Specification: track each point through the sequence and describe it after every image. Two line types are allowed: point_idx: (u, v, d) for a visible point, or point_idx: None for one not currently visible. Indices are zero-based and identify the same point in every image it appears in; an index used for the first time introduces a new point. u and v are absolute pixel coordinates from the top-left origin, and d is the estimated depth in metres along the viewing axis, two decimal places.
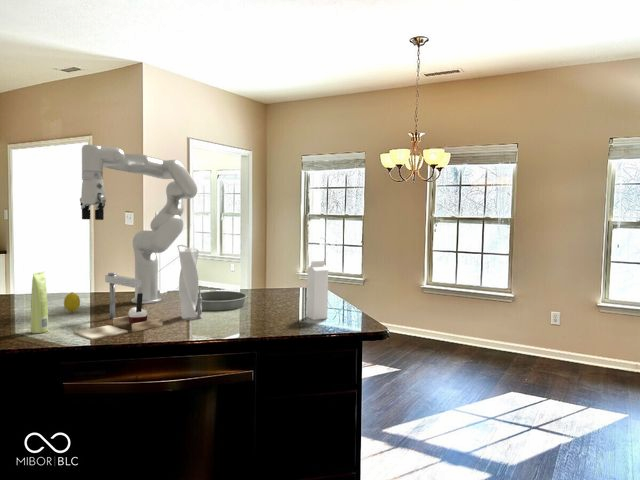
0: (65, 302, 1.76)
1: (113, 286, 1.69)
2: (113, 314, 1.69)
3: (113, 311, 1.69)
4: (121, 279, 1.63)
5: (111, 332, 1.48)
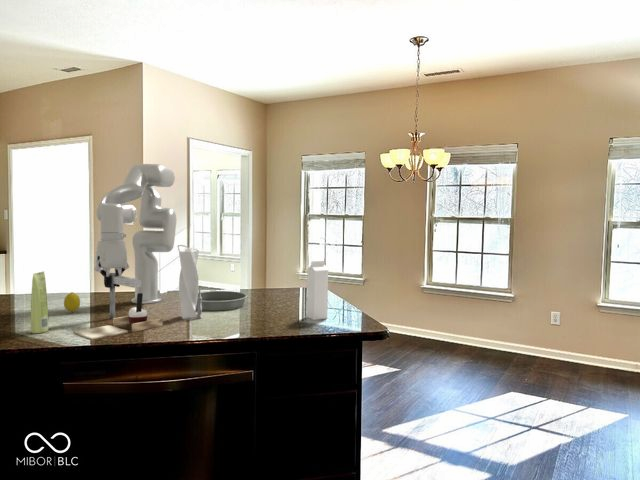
0: (65, 302, 1.76)
1: (113, 286, 1.69)
2: (113, 314, 1.69)
3: (113, 311, 1.69)
4: (121, 279, 1.63)
5: (111, 332, 1.48)
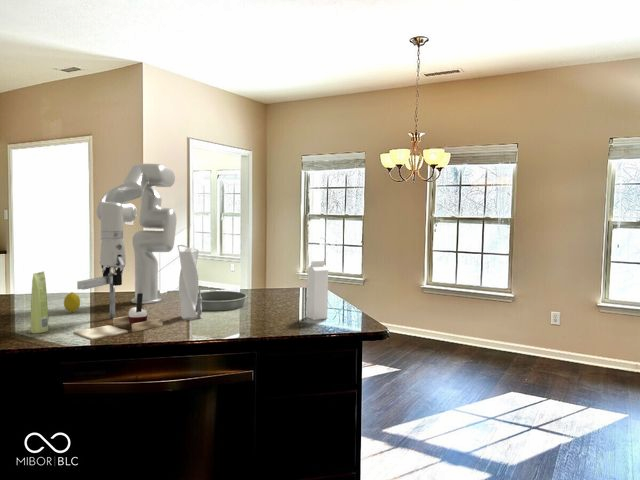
0: (65, 302, 1.76)
1: (110, 286, 1.69)
2: (110, 314, 1.69)
3: (110, 311, 1.69)
4: None
5: (111, 332, 1.48)
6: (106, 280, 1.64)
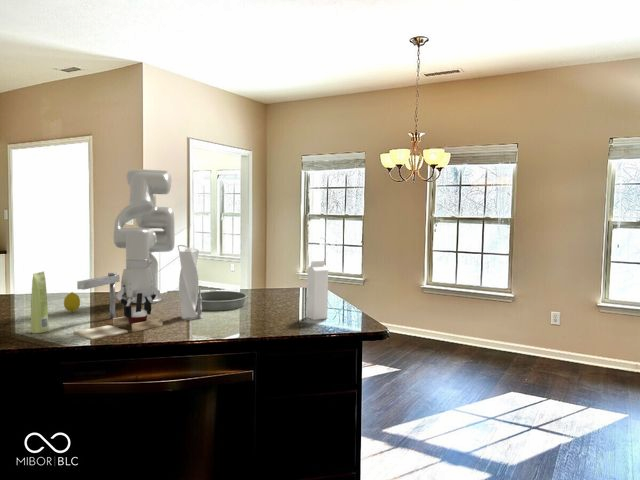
0: (65, 302, 1.76)
1: (110, 286, 1.69)
2: (110, 314, 1.69)
3: (110, 311, 1.69)
4: None
5: (111, 332, 1.48)
6: (106, 280, 1.64)
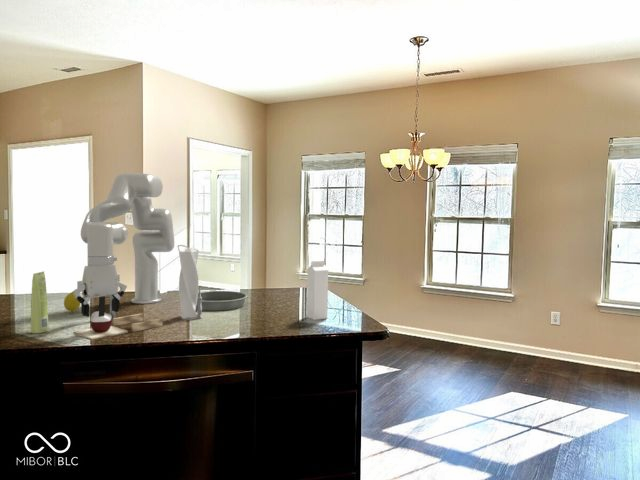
0: (65, 302, 1.76)
1: None
2: (110, 314, 1.69)
3: (110, 311, 1.69)
4: None
5: (111, 332, 1.48)
6: None
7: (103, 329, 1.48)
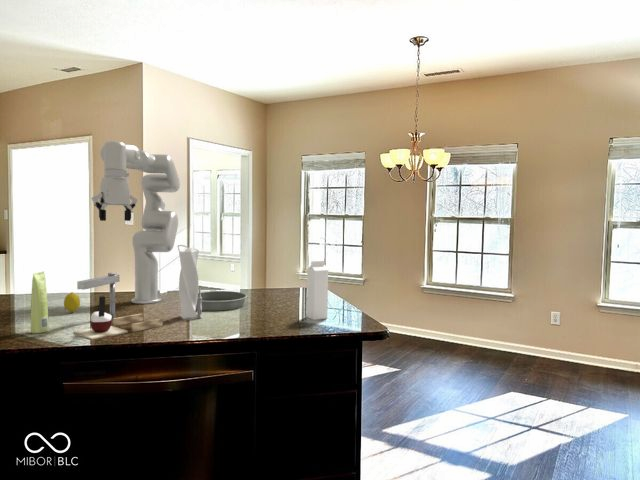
0: (65, 302, 1.76)
1: (110, 286, 1.69)
2: (110, 314, 1.69)
3: (110, 311, 1.69)
4: None
5: (111, 332, 1.48)
6: (106, 280, 1.64)
7: (103, 329, 1.48)
